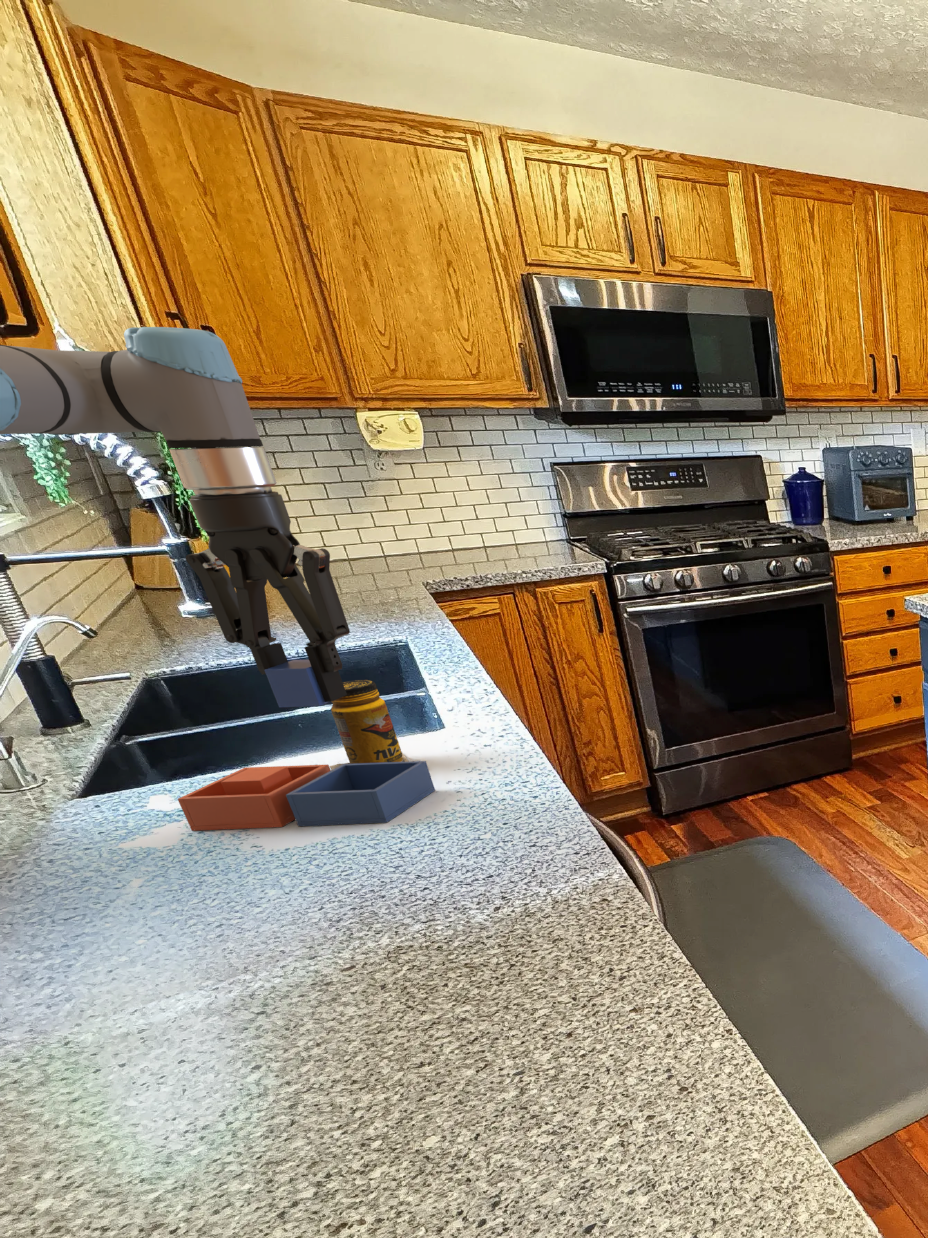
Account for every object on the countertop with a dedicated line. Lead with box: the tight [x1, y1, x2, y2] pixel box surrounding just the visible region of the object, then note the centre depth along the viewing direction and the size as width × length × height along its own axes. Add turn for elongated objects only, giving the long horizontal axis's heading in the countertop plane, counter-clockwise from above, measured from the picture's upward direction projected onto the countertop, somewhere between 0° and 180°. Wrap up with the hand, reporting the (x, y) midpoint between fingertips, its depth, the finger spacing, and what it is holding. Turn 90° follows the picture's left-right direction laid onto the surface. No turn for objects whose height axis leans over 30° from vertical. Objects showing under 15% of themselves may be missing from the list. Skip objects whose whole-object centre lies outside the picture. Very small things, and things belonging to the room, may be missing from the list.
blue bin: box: [286, 760, 436, 827], centre depth 108 cm, size 10×10×4 cm
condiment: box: [329, 679, 410, 770], centre depth 120 cm, size 7×8×12 cm
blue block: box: [265, 659, 329, 708], centre depth 101 cm, size 4×4×4 cm
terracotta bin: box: [177, 764, 331, 832], centre depth 107 cm, size 10×10×4 cm
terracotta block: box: [221, 766, 292, 795], centre depth 107 cm, size 4×4×4 cm
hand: (312, 698), depth 102 cm, fingers closed on blue block, 4 cm apart
